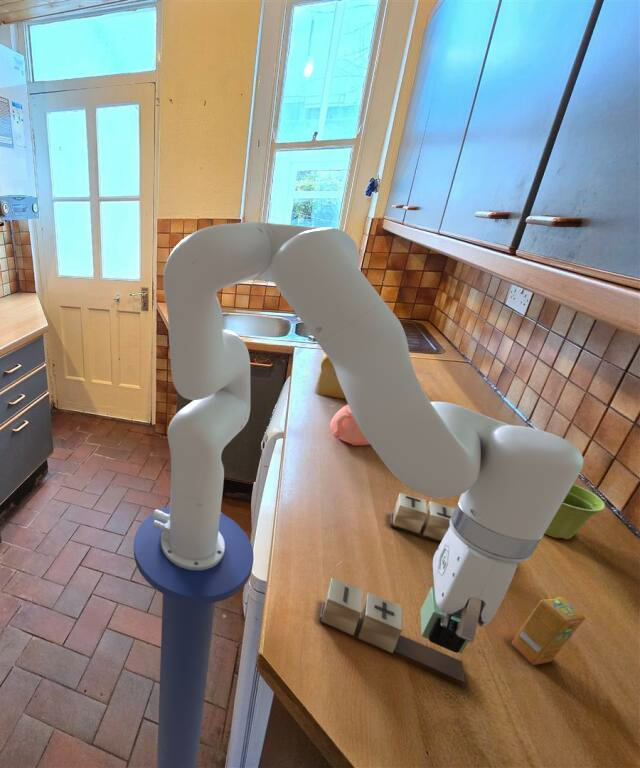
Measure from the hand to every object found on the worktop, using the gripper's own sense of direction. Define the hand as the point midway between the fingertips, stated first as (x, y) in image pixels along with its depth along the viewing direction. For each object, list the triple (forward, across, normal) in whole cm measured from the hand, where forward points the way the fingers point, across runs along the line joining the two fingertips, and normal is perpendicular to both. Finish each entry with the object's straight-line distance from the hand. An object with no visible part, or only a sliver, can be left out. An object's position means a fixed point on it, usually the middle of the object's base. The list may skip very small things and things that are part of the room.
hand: (441, 628), depth 55 cm
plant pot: (+7, -43, +22) cm, 49 cm away
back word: (+7, -29, +4) cm, 30 cm away
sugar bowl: (+8, -60, -15) cm, 62 cm away
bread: (+8, -97, -22) cm, 100 cm away
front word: (+7, 0, -5) cm, 9 cm away
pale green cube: (+1, 0, 0) cm, 1 cm away
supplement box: (+7, -9, +13) cm, 17 cm away
